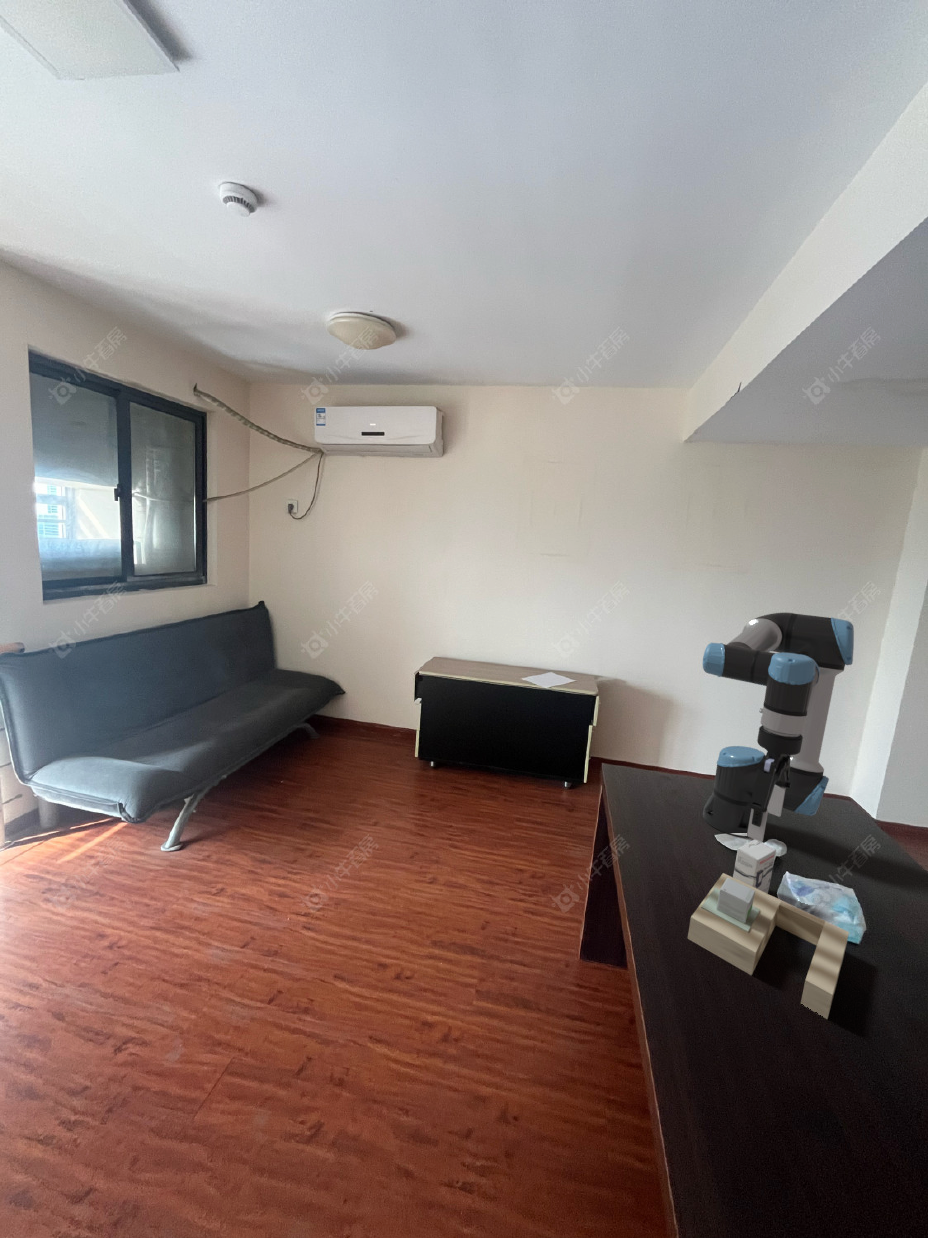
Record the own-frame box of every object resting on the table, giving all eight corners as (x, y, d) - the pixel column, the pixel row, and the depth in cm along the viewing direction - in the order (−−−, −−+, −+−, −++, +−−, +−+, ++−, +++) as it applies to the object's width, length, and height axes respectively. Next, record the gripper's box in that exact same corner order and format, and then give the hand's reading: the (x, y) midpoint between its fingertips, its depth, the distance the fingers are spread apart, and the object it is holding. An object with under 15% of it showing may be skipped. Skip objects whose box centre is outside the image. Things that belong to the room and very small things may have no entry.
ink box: (750, 906, 115) (758, 859, 113) (729, 893, 119) (736, 847, 117) (768, 894, 119) (777, 849, 118) (747, 881, 123) (755, 838, 122)
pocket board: (720, 892, 119) (723, 871, 118) (844, 953, 103) (849, 930, 102) (687, 938, 104) (691, 915, 103) (827, 1019, 88) (832, 993, 87)
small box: (745, 924, 101) (749, 903, 101) (715, 909, 105) (718, 888, 104) (752, 910, 106) (756, 889, 105) (723, 896, 109) (726, 876, 109)
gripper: (776, 711, 112) (761, 798, 116) (741, 739, 95) (725, 841, 98) (816, 721, 107) (799, 811, 111) (787, 753, 89) (768, 859, 93)
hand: (764, 825), depth 105 cm, fingers open, 13 cm apart
